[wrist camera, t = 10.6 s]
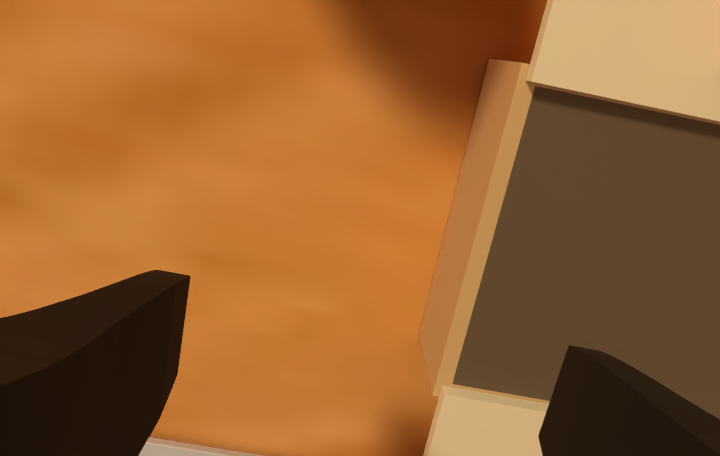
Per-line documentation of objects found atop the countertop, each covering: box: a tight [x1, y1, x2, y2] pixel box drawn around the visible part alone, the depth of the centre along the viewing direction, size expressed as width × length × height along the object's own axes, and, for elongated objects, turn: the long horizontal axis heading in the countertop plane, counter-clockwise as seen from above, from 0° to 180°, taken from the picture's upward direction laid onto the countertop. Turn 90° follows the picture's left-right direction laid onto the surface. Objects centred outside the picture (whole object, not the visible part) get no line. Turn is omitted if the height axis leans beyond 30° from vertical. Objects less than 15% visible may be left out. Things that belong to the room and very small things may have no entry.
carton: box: [419, 59, 720, 419], centre depth 20 cm, size 10×12×4 cm
